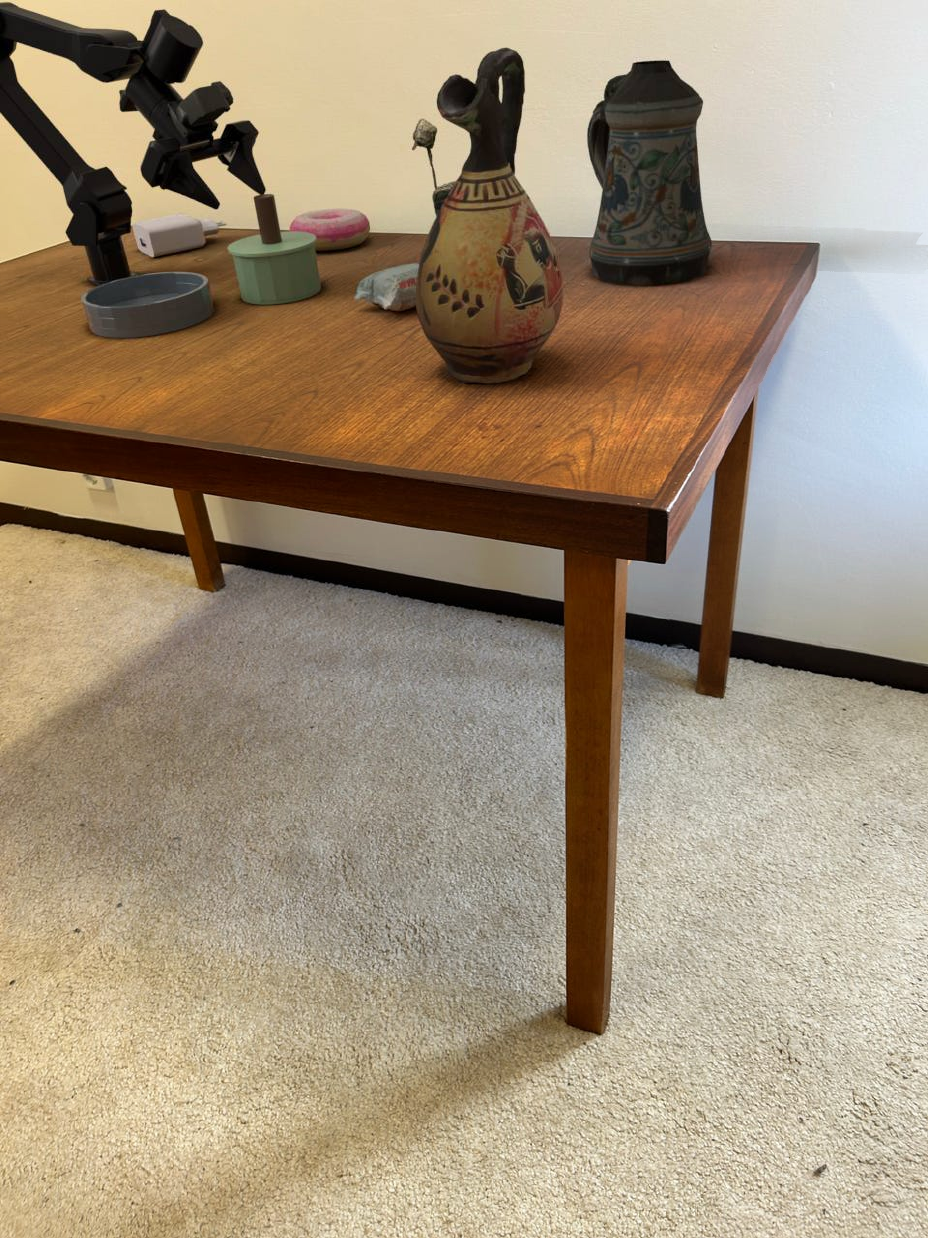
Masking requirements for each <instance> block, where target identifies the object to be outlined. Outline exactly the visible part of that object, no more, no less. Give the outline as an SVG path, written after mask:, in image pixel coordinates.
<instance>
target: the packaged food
mask: <svg viewBox="0 0 928 1238" xmlns="http://www.w3.org/2000/svg"><path fill="white" fill-rule="evenodd" d="M418 268H419V263H416V262H415V263H407V264H400V265H396V266H393V267H388V268H385V269H383V270H379V271H376V272H373V273H372V274H370V275H368V276H366V277H364V278H363V279H362V280H360V281H359V283H358V286H357V287H356V288H355V294H354V300H355V301H356V302H359V301H360V300H364V301H365V302H367V303H371V304H372V305H374V306H377V307H379V308H382V309H384V310H389V311H393V312H402V311H405V310H410V309H414V308H415V309H416V301H415V294H416V281H417V274H418Z"/></svg>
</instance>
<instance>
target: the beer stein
mask: <svg viewBox="0 0 928 1238" xmlns="http://www.w3.org/2000/svg"><path fill="white" fill-rule="evenodd" d="M603 91H604V92H603V99H602V100H601V101H599V102H598V103H596V105H595V107H594V109H593V110H592V115H591V117H590V119H589V122H588V126H587V132H586V142H587V149H588V156H589V160H590V164H591V166H592V169H593V172H594V175H595V177H596V179H597V181H598V183H599V185H600V187H601V189H602V191H601V197H600V205H599V209H598V215H597V221H596V225H595V230H594V233H593V236H592V239H591V240H590V244H589V249H588V250H589V251H588V252H589V258H590V263H591V267H592V268H591V269H592V275H593V276H594V277H595V278H597V279H598V280H601V281H603V282H606V283H612V284H617V285H624V286H636V287H643V286H644V287H645V286H660V285H661V286H665V285H669V284H675V283H681V282H687V281H690V280H693V279H695V278H698V277H701V276H704V275H705V273H706V270H707V269H706V268H707V265H708V260H709V257H710V253H711V249H712V246H713V241H712V237H711V235H710V233H709V230H708V228H707V224H706V219H705V212H704V206H703V200H702V199H703V198H702V189H701V177H700V165H699V150H698V137H697V125H698V120H699V118H700V116H701V114H702V110H703V107H704V100H703V98H702V97H701V96H700V94H699V93H698V92H697V90H695V89H694V88H693V86H691V85H690V84H689V83H687V82H686V81H685V80H683V79H682V78H681V77H680V76H679V74H678V73H677V72H676V70H674V68H673V66H672V63H671V62H670V60H665V59H662V60H659V59H658V60H644V61H636V62H632V65H631V69H630V71H629V72H627V73H626V74H625V73H624V74H620V75H619V74H618V75H616V76H614V77H612V78H610V79H609V80H608V81H607V83H606V85H605V89H604V90H603Z"/></svg>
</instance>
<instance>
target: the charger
mask: <svg viewBox="0 0 928 1238" xmlns="http://www.w3.org/2000/svg"><path fill="white" fill-rule="evenodd" d="M225 226H227V222H223V221H221V220H220V221H215V219H211V218H205V219H198V218H195V217H192V216H190V215H188V214H184V213H177V214H172V215H167V216H162V217H156V218H152V219H147V220H146V219H145V220H141V221H135V222H131V228H132V230H133V235H134V238H135V243H136V245H137V248H138V250H139V251H140V252H141V253H143V254H145V255H147V256H149V257H151V258H157V257H160V256H161V257H162V256H167V255H171V254H175V253H179V252H180V253H181V252H185V251H189V250H195V249H200V248H203V247H204V245H205V244H206V243H207V242H206V237H208V236H213V235H217V234H218V233H219V231H220V227H225Z"/></svg>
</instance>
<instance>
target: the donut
mask: <svg viewBox="0 0 928 1238" xmlns="http://www.w3.org/2000/svg"><path fill="white" fill-rule="evenodd" d="M370 223H371V222H370V220H369V219H368V217H367V215H366V214H364V213H363V212H362V211H360V210H357V209H352V208H342V207H341V208H337V207H335V208H325V209H317V210H312V211H308V212H304V213H301V214H299V215H297V216H296V217H294V219H293V220H292V221H291V223H290V225H289V229H288V232H307V233H311V234H314V235H315V236H316V239H317V242H316V243H315V244H314V245H315V251H316V252H317V251H318V252H322V251H323V252H324V251H325V252H326V251H337V250H345V249H348V248H353V247H355V246H358V245H360V244H362V243H363V242H365V240H367V238H368V237H369V235H370V231H371V224H370Z"/></svg>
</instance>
